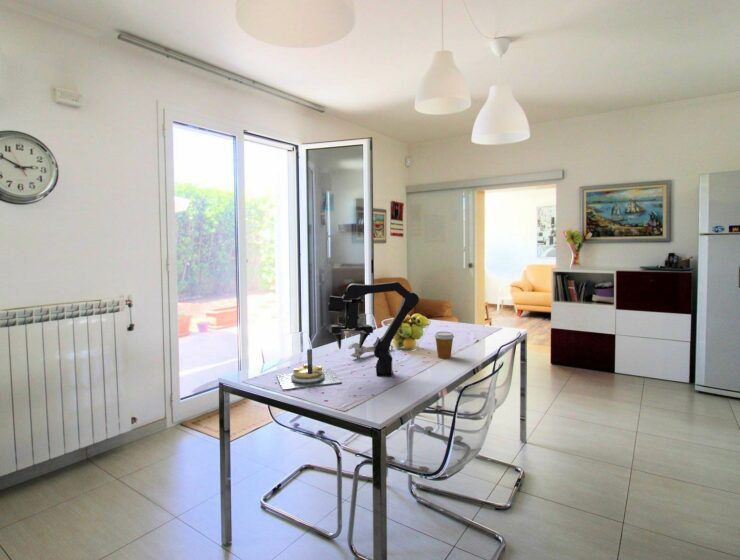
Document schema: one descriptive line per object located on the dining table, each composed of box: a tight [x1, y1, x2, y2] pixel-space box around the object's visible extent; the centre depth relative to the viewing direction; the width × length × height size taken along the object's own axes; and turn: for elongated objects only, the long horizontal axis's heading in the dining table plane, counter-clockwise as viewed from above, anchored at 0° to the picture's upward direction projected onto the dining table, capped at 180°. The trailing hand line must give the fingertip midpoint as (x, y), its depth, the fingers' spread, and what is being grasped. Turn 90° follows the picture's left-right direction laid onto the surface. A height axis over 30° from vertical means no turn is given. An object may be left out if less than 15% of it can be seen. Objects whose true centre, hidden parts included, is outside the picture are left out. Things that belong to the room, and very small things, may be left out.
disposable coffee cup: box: [434, 331, 455, 359], centre depth 214 cm, size 10×10×12 cm
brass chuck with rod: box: [292, 348, 323, 379], centre depth 181 cm, size 12×12×12 cm
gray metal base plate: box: [276, 368, 343, 391], centre depth 182 cm, size 24×20×2 cm
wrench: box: [348, 342, 394, 359], centre depth 221 cm, size 8×2×30 cm
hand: (349, 348), depth 186 cm, fingers open, 9 cm apart
